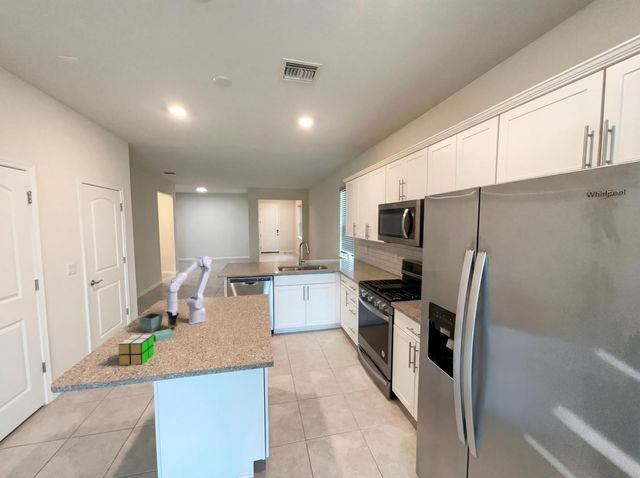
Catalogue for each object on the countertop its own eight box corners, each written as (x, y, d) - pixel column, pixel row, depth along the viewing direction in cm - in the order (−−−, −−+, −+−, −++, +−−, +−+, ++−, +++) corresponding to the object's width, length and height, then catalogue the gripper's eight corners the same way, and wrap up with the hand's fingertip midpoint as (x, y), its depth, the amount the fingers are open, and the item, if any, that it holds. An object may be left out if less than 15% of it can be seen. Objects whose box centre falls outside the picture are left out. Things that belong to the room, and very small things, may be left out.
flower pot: (151, 334, 149) (151, 319, 148) (138, 332, 151) (138, 317, 150) (163, 328, 157) (163, 314, 157) (151, 327, 159) (151, 313, 159)
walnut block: (176, 324, 160) (176, 315, 159) (177, 326, 156) (177, 317, 156) (167, 325, 157) (167, 316, 157) (169, 328, 153) (168, 319, 153)
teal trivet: (170, 333, 151) (170, 328, 151) (172, 338, 144) (172, 333, 144) (154, 337, 146) (154, 332, 146) (155, 342, 139) (155, 336, 139)
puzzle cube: (132, 354, 125) (132, 334, 125) (154, 353, 126) (153, 334, 125) (118, 365, 115) (118, 343, 115) (141, 364, 116) (141, 343, 116)
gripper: (163, 300, 159) (163, 321, 160) (166, 305, 148) (166, 328, 148) (175, 298, 163) (176, 319, 164) (180, 303, 152) (180, 326, 153)
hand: (172, 323), depth 157 cm, fingers closed on walnut block, 4 cm apart
